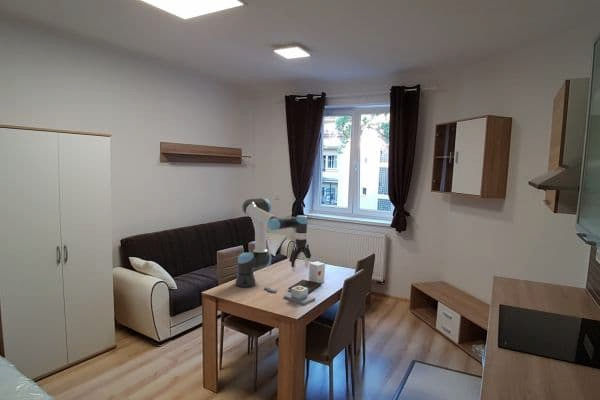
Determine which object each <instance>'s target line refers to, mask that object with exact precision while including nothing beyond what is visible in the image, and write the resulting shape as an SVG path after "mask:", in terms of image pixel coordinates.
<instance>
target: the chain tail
mask: <svg viewBox="0 0 600 400" xmlns="http://www.w3.org/2000/svg"><path fill="white" fill-rule="evenodd" d="M263 290H264V291H265V290H266V291H267V292H269V293H275V294H276V293H278V290H276V289H272V288H271V287H267V286H266V287H264V288H263Z"/></svg>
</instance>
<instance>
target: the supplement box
mask: <svg viewBox="0 0 600 400" xmlns="http://www.w3.org/2000/svg"><path fill="white" fill-rule="evenodd" d="M325 268H326V264H325V263H324V262H320V261H318V260H317V261H313V262H309V265H308V281H313V282H318V283H321V284H322V283H324V282H325V274H326V272H325Z"/></svg>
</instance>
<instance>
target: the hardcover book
mask: <svg viewBox="0 0 600 400" xmlns="http://www.w3.org/2000/svg"><path fill="white" fill-rule="evenodd" d="M296 286H302V287H306V288H308V295H310V294H311V293H312V292H314V291H315V290H316V289H318V288H320V287H321V286H322V283H318V282H313V281H309V279H308V280H306V279H301V280H299V281H298V282H296V283H294V284H293V285H291V286H290V287H288V288H287V289H288V291H289V292H291V288H294V287H296Z"/></svg>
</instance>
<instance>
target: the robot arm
mask: <svg viewBox="0 0 600 400" xmlns="http://www.w3.org/2000/svg"><path fill="white" fill-rule="evenodd" d="M241 209H242V212H243V213H244V214H245V216H248V217H253V218H254V247H255V248H254V249H253V251H252V252H250V251H249V252H243V253H240V254H239V255H238V257H237V276H236V279H235V283H234V284H235V286H236V287H237V288H251V287H254V286H256V283H257V281H256V279H255V275H254V270H257V269H263V268H264V269H265V268H266V267H269V266H270V264H271V263H272V255H271V252H269V249H267V227H268V228H269V230H270V231H278V230H285V229H295V242H294V243H295V245H296V246H293V247H292V250H291V253H290V257H289V260H288V261H289V262H291V264H290V265H291V272H293V273H296V269H297V268H296V267H297V266H296V263H297V262H296V260H297V259H298V257H299V255H300V254H301V253H303V255H304V256H305V258H304V267H305V268H306V269H309V264H310V259H311V257H312V254H311V251H310V247H309V244H307V243H308V241H307V240H308V239H307V236H308V233H307V232H308V217H307V215H302V214H301V215H299V214H298V215H296V217H295V216H292V215H291V216H289V215H287V216H285V217H278V216H275V215H273V214H272V213H271V211H272V205H271V202H270V201H269V199H267V198H263V197H262V198H261V197H260V198H259V197H258V198H249V199H245V200H244V202H243V204H242V207H241Z"/></svg>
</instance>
